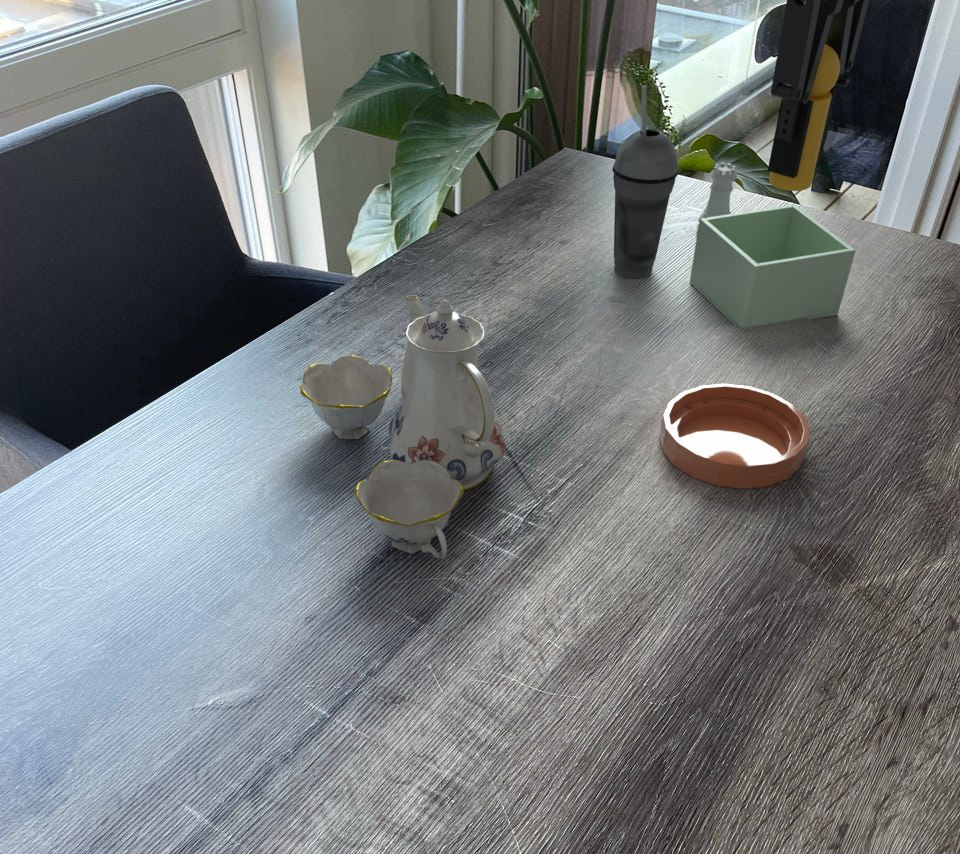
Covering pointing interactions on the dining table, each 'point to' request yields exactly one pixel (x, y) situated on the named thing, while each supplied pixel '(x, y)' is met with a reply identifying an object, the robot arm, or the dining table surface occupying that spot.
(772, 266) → the bin
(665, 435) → the bowl
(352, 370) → the chinaware
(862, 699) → the dining table surface
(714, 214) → the rook chess piece
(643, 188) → the beverage cup
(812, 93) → the toy figure
